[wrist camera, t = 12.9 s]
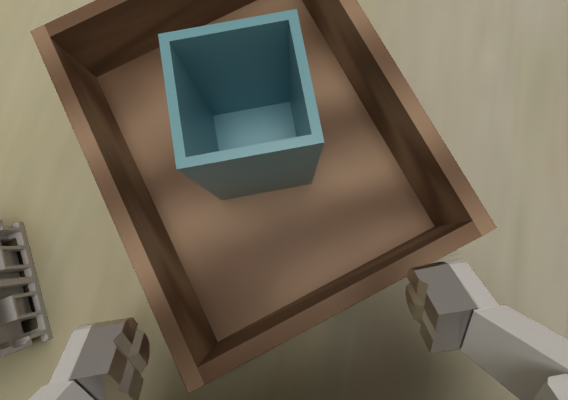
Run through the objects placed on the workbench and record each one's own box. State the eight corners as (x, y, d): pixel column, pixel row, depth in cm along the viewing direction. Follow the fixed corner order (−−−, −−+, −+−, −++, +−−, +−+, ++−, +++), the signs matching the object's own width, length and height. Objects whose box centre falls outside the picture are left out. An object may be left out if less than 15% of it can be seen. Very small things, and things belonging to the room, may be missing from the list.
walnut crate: (447, 232, 20) (496, 227, 15) (214, 356, 20) (188, 393, 15) (296, -22, 23) (298, -95, 18) (87, 78, 22) (30, 31, 18)
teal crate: (311, 183, 20) (324, 142, 12) (221, 200, 20) (176, 169, 12) (294, 98, 21) (296, 9, 13) (208, 114, 21) (158, 34, 13)
